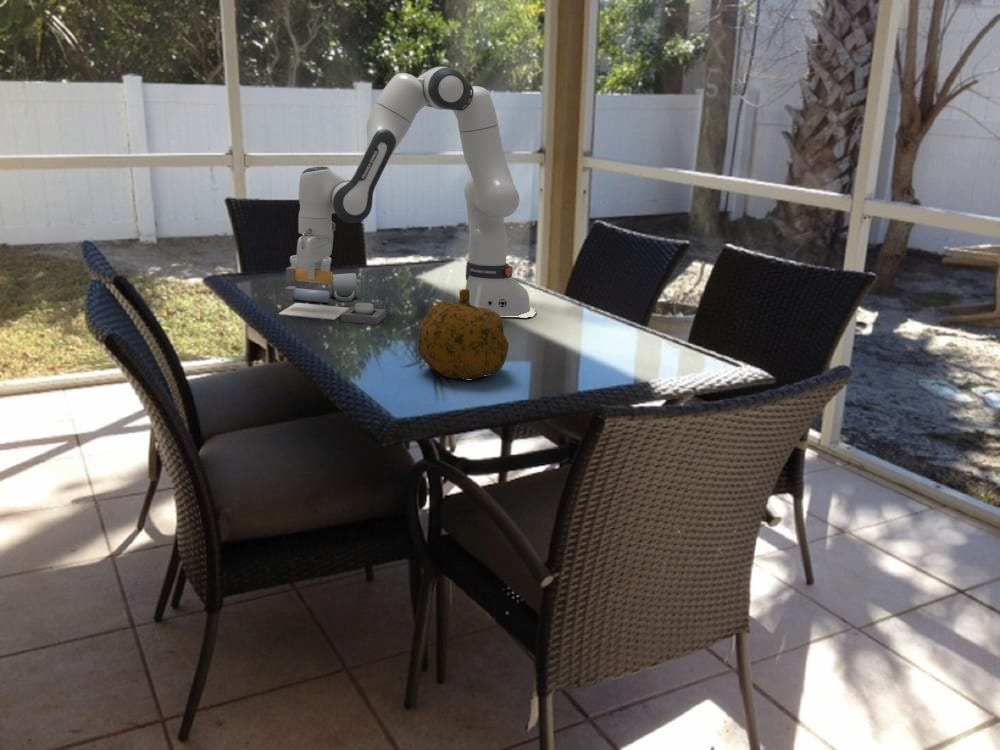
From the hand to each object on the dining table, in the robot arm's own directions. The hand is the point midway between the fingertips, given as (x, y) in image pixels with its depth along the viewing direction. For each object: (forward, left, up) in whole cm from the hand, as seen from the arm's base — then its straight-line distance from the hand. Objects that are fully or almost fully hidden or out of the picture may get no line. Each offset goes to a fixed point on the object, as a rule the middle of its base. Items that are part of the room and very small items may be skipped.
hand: (314, 277), depth 262 cm
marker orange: (+1, 0, -2) cm, 2 cm away
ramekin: (+16, -44, -10) cm, 48 cm away
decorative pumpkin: (-50, +45, -10) cm, 68 cm away
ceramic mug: (-3, -20, -10) cm, 23 cm away
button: (-15, +3, -8) cm, 17 cm away
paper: (0, 0, -10) cm, 10 cm away
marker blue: (+6, -12, -10) cm, 17 cm away
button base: (-15, +3, -10) cm, 18 cm away
